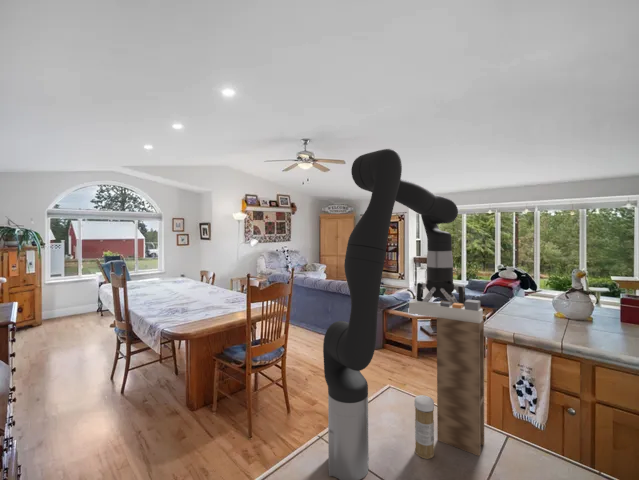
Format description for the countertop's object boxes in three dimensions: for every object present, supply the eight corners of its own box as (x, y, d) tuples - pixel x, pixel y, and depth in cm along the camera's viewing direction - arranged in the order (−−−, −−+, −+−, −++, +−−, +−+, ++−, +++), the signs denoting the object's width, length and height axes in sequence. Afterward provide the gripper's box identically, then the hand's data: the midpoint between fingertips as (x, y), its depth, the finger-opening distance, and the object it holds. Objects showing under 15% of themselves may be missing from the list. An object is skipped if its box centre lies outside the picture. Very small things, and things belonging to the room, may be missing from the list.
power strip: (409, 313, 87) (409, 295, 87) (413, 310, 90) (413, 293, 90) (479, 323, 76) (479, 303, 76) (482, 320, 79) (482, 300, 79)
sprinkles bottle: (421, 444, 80) (421, 392, 80) (438, 454, 76) (437, 399, 76) (411, 452, 77) (410, 398, 77) (427, 462, 73) (427, 406, 73)
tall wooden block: (437, 440, 82) (436, 318, 82) (444, 429, 86) (443, 313, 86) (479, 456, 76) (478, 324, 75) (484, 443, 80) (483, 319, 80)
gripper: (412, 265, 98) (413, 316, 98) (460, 267, 89) (461, 323, 89) (421, 263, 104) (422, 311, 104) (467, 265, 95) (468, 318, 95)
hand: (440, 317), depth 97 cm, fingers open, 8 cm apart
